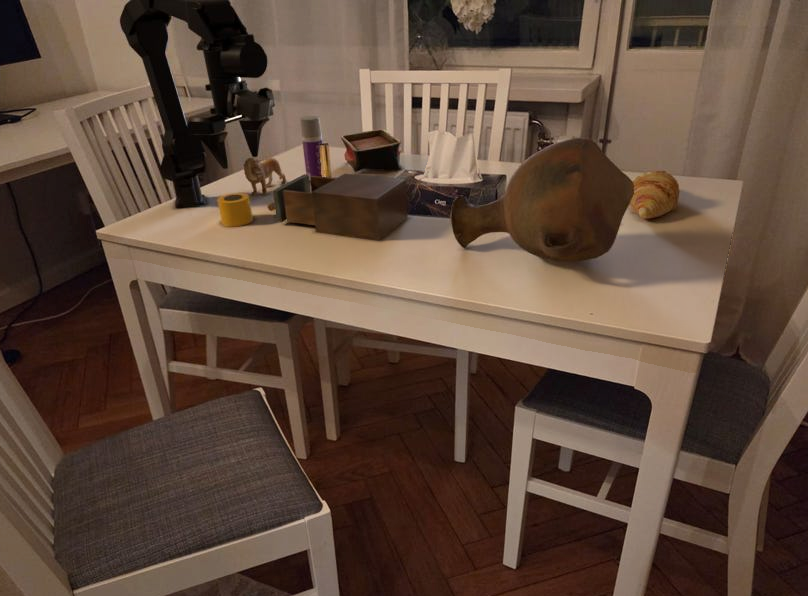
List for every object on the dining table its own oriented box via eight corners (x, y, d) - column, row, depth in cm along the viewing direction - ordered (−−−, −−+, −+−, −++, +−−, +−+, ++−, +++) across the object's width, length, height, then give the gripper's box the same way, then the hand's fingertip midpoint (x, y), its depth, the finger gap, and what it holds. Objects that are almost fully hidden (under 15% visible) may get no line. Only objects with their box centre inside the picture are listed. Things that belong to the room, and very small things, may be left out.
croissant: (657, 242, 120) (686, 208, 115) (612, 214, 121) (639, 179, 115) (665, 204, 136) (691, 173, 131) (625, 179, 137) (649, 147, 131)
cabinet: (316, 231, 124) (311, 192, 120) (347, 210, 134) (344, 173, 130) (378, 240, 119) (376, 199, 115) (407, 218, 129) (406, 179, 124)
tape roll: (221, 218, 134) (217, 194, 132) (251, 214, 135) (247, 191, 133) (222, 228, 129) (217, 204, 126) (253, 224, 130) (249, 200, 127)
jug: (644, 251, 108) (483, 252, 124) (648, 131, 103) (479, 148, 119) (614, 273, 92) (435, 270, 108) (617, 132, 86) (427, 151, 103)
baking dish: (350, 185, 156) (351, 146, 149) (338, 157, 169) (339, 119, 163) (406, 183, 159) (409, 144, 152) (391, 155, 172) (393, 118, 165)
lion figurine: (263, 200, 143) (257, 160, 138) (243, 199, 145) (236, 159, 140) (290, 181, 155) (285, 143, 150) (271, 180, 156) (265, 143, 152)
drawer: (260, 219, 130) (255, 188, 127) (292, 201, 139) (288, 172, 135) (332, 229, 123) (329, 196, 120) (360, 210, 132) (358, 179, 128)
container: (323, 185, 151) (316, 120, 143) (304, 185, 152) (297, 120, 143) (328, 179, 154) (322, 115, 146) (310, 179, 155) (303, 115, 147)
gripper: (224, 84, 106) (242, 177, 114) (288, 68, 119) (300, 152, 127) (175, 85, 111) (196, 174, 118) (243, 70, 124) (257, 150, 132)
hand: (240, 162), depth 124 cm, fingers open, 9 cm apart
